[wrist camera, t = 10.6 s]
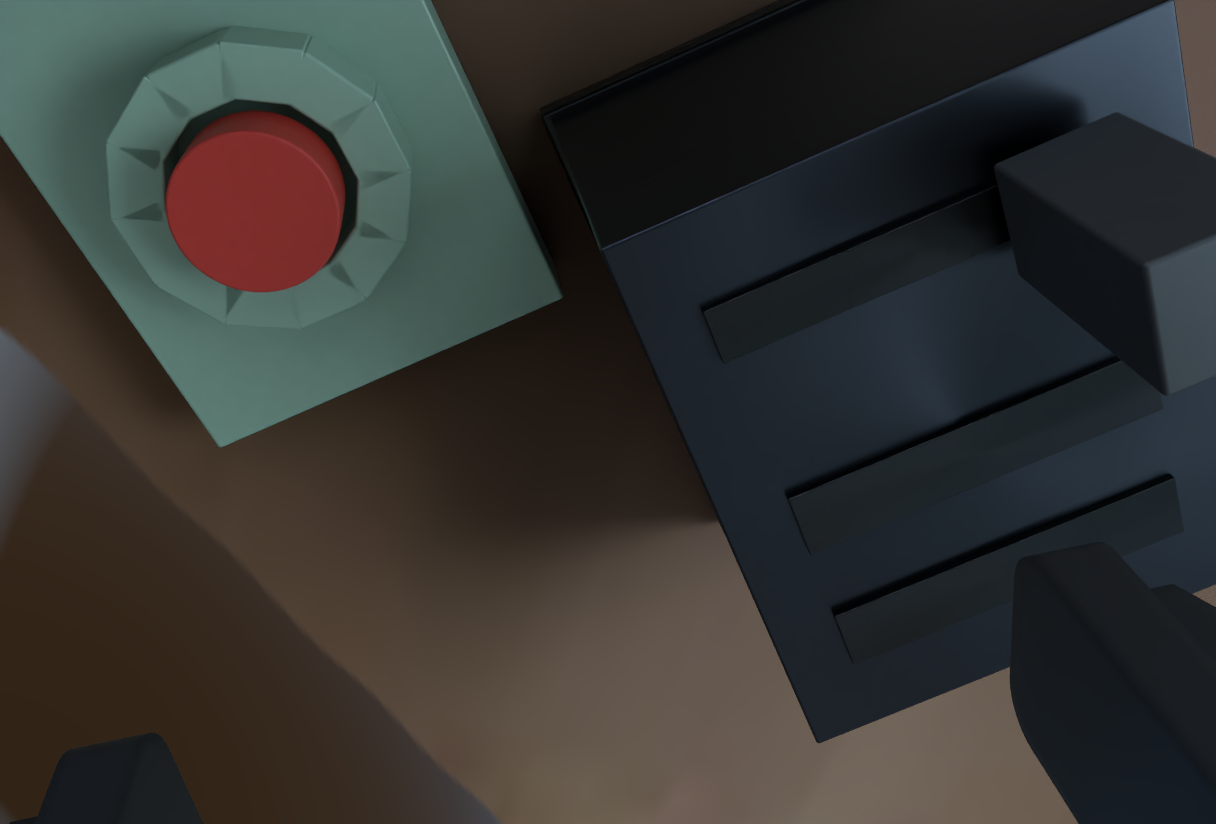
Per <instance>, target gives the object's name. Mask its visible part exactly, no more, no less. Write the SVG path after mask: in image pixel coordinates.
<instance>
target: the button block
mask: <svg viewBox="0 0 1216 824" xmlns="http://www.w3.org/2000/svg"><path fill="white" fill-rule="evenodd" d="M252 110H253V111H267V112H273V113H277V114H281V115H284V116H287V117H289V118H292V119H294V120H296V121H298V122H300V123H301V124H303V125H305V126H306V127H308V128H309V129H310V130H312V131H313V132H314V133H316V134H317V135H318V136H319V137H320V138H321V139H322V140H323V141H324V142H325V144H326V145H327V146H328V147H329V149H330V150H331V152H332V153H333V155H334V156H335V158H336V160H337V162H338V164H339V166H340V169H341V172H342V175H343V179H344V184H345V197H346V198H345V208H344V213H343V219H342V224H341V229H340V234H339V238H338V242H337V244H336V247H335V249H334V251H333V253H332V255H331V256H330V258H329V260H328V261H327V262H326V263H325V265H324V266H323V267H322V268H321V269H320V270H319V271H318V272H317V273H316V274H315V275H313V276H312V277H310V278H309V279H308V280H306V281H304V282H302V283H300V284H299V285H296V286H294V287H291V288H288V289H284V290H280V291H275V292H248V291H242V290H238V289H234V288H231V287H228V286H226V285H223V284H221V283H219V282H217V281H215V280H213V279H211V278H210V277H208V276H206V275H205V274H203V273H202V272H201V271H200V270H198V269H197V268H196V267H195V266H194V265H193V264H192V263H191V262H190V261H189V260H188V259H187V258H186V257H185V255H184V254H183V253H182V251H181V250H180V249H179V247H178V245H177V244H176V242H175V240H174V238H173V236H172V233H171V231H170V229H169V225H168V221H167V217H166V208H165V200H166V191H167V185H168V182H169V179H170V176H171V174H172V172H173V170H174V168H175V166H176V165H177V163H178V162H179V160H180V158H181V157H182V155H183V154H184V152H185V151H186V149H187V148H188V146H189V145H190V143H191V142H192V140H193V139H194V138H195V136H196V135H197V134H198V133H199V132H200V131H201V130H202V129H203V128H205V127H206V126H207V125H209V124H210V123H212V122H213V121H215V120H217V119H219V118H221V117H223V116H226V115H229V114H232V113H237V112H241V111H252ZM0 136H1V137H2V138H3V140H4V141H5V143H6V144H7V146H8V147H9V148H10V150H11V151H12V153H13V154H14V156H15V157H16V158H17V160H18V161H19V163H20V164H21V166H22V167H23V168H24V170H25V171H26V173H27V174H28V175H29V177H30V178H31V180H32V181H33V183H34V184H35V185H36V187H37V188H38V190H39V191H40V193H41V194H42V195H43V197H44V198H45V200H46V201H47V203H48V204H49V205H50V207H51V208H52V210H53V211H54V213H55V214H56V215H57V217H58V218H59V220H60V221H61V223H62V224H63V225H64V227H65V228H66V230H67V231H68V232H69V234H70V235H71V237H72V238H73V240H74V241H75V242H76V244H77V245H78V247H79V248H80V250H81V251H82V252H83V254H84V255H85V257H86V258H87V260H88V261H89V262H90V264H91V265H92V267H93V268H94V270H95V271H96V272H97V274H98V275H99V277H100V278H101V279H102V281H103V282H104V284H105V285H106V287H107V288H108V289H109V291H110V292H111V294H112V295H113V297H114V298H115V299H116V301H117V302H118V304H119V305H120V307H121V308H122V309H123V311H124V312H125V314H126V315H127V317H128V318H129V319H130V321H131V322H132V324H133V325H134V326H135V328H136V329H137V331H138V332H139V334H140V335H141V336H142V338H143V339H144V341H145V342H146V344H147V345H148V346H149V348H150V349H151V351H152V352H153V354H154V355H155V356H156V358H157V359H158V361H159V362H160V364H161V365H162V366H163V368H164V369H165V371H166V372H167V374H168V375H169V376H170V378H171V379H172V381H173V382H174V383H175V385H176V386H177V388H178V389H179V391H180V392H181V393H182V395H183V396H184V398H185V399H186V401H187V402H188V403H189V405H190V406H191V408H192V409H193V411H194V412H195V413H196V415H197V416H198V418H199V419H200V421H201V422H202V423H203V425H204V426H205V428H206V429H207V430H208V432H209V433H210V435H211V436H212V438H213V439H214V440H215V442H216V443H217V445H218V446H219V447H223V446H226V445H228V444H230V443H233V442H235V441H237V440H239V439H242V438H244V437H246V436H249V435H251V434H253V433H255V432H258V431H260V430H262V429H265V428H267V427H269V426H271V425H274V424H276V423H278V422H281V421H283V420H285V419H288V418H290V417H292V416H294V415H297V414H299V413H301V412H304V411H306V410H308V409H310V408H313V407H315V406H317V405H320V404H322V403H324V402H326V401H329V400H331V399H333V398H336V397H338V396H340V395H342V394H345V393H347V392H349V391H352V390H354V389H356V388H358V387H361V386H363V385H365V384H368V383H370V382H372V381H374V380H377V379H379V378H381V377H384V376H386V375H388V374H390V373H393V372H395V371H397V370H400V369H402V368H404V367H406V366H409V365H411V364H413V363H416V362H418V361H420V360H422V359H425V358H427V357H429V356H432V355H434V354H436V353H438V352H441V351H443V350H445V349H448V348H450V347H452V346H454V345H457V344H459V343H461V342H464V341H466V340H468V339H470V338H473V337H475V336H477V335H480V334H482V333H484V332H487V331H489V330H491V329H493V328H496V327H498V326H500V325H503V324H505V323H507V322H509V321H512V320H514V319H516V318H519V317H521V316H523V315H525V314H528V313H530V312H532V311H535V310H537V309H539V308H541V307H544V306H546V305H548V304H551V303H553V302H555V301H557V300H560V299H562V298H563V293H562V290H561V286H560V282H559V279H558V275H557V271H556V268H555V265H554V263H553V261H552V258H551V256H550V254H549V252H548V250H547V248H546V246H545V243H544V241H543V239H542V237H541V235H540V233H539V231H538V228H537V226H536V224H535V222H534V220H533V218H532V216H531V213H530V211H529V209H528V207H527V205H526V203H525V201H524V198H523V196H522V194H521V192H520V190H519V188H518V186H517V183H516V181H515V179H514V177H513V175H512V173H511V171H510V168H509V166H508V164H507V162H506V160H505V158H504V156H503V153H502V151H501V149H500V147H499V145H498V143H497V141H496V138H495V136H494V134H493V132H492V130H491V128H490V126H489V123H488V121H487V119H486V117H485V115H484V113H483V111H482V108H481V106H480V104H479V102H478V100H477V98H476V96H475V93H474V91H473V89H472V87H471V85H470V83H469V81H468V78H467V76H466V74H465V72H464V70H463V68H462V66H461V64H460V61H459V59H458V57H457V55H456V53H455V51H454V49H453V46H452V44H451V42H450V40H449V38H448V36H447V34H446V31H445V29H444V27H443V25H442V23H441V21H440V19H439V16H438V14H437V12H436V10H435V8H434V6H433V4H432V1H431V0H0Z"/></svg>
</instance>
